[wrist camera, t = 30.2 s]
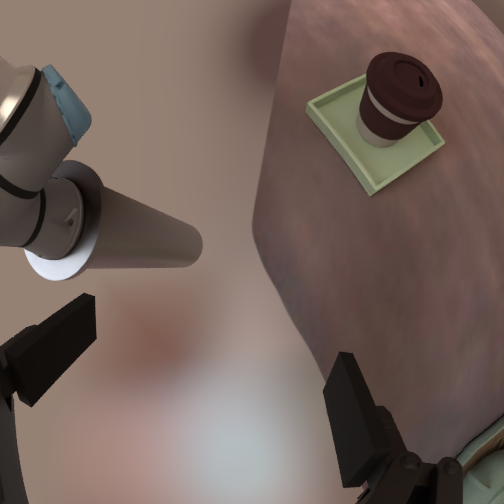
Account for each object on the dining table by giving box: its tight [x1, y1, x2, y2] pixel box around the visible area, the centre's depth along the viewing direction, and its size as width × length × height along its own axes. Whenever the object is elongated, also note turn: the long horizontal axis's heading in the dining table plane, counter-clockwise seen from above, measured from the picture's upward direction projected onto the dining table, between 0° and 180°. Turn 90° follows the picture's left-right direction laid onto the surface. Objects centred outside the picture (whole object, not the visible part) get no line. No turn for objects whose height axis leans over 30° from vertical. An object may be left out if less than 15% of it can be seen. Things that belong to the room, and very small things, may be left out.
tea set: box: [456, 416, 504, 504], centre depth 25 cm, size 40×40×16 cm
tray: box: [306, 74, 446, 196], centre depth 38 cm, size 16×16×3 cm
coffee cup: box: [356, 52, 443, 147], centre depth 32 cm, size 10×10×15 cm
